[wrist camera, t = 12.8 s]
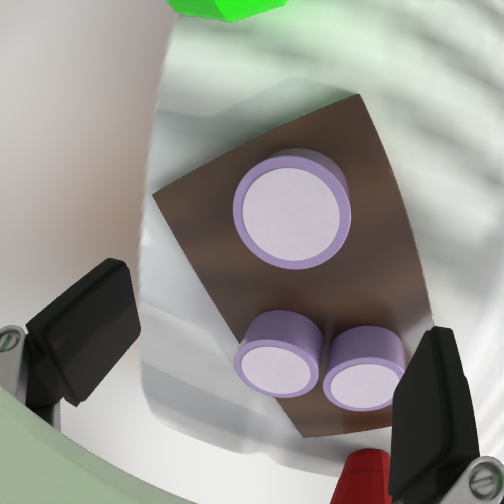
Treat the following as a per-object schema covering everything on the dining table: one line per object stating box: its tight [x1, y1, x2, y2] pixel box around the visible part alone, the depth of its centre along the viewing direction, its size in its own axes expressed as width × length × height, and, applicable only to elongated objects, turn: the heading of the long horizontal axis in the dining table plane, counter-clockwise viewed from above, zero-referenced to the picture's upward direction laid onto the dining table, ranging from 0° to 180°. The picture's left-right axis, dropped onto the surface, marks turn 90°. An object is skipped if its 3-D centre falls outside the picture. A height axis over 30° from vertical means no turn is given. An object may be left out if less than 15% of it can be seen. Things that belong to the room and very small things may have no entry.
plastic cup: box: [330, 449, 392, 504], centre depth 27 cm, size 11×11×12 cm
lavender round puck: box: [323, 326, 406, 411], centre depth 22 cm, size 6×6×4 cm
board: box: [152, 94, 434, 438], centre depth 24 cm, size 30×16×1 cm, turn 28°
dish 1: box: [233, 148, 351, 269], centre depth 18 cm, size 6×6×4 cm
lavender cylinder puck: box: [234, 310, 324, 398], centre depth 23 cm, size 6×6×4 cm
